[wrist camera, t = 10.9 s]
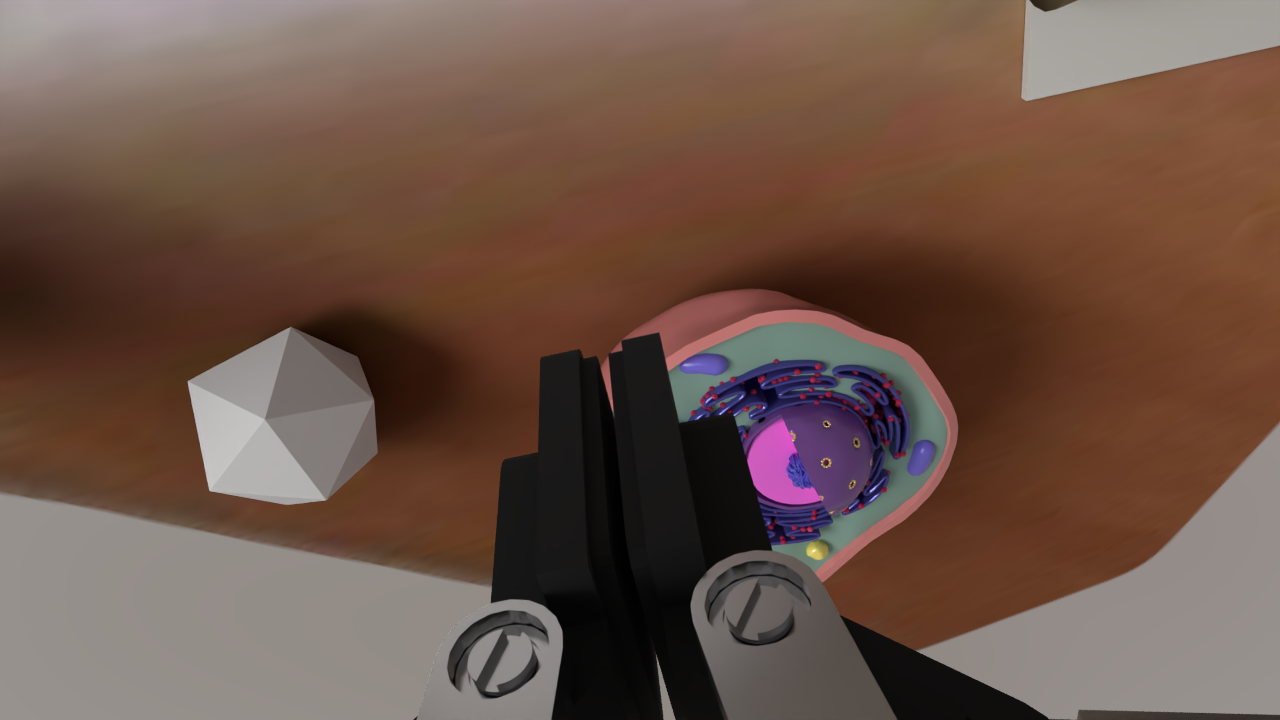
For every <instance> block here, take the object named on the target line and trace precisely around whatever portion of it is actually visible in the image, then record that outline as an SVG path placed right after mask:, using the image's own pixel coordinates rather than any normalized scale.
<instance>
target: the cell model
mask: <svg viewBox="0 0 1280 720" xmlns="http://www.w3.org/2000/svg"><path fill="white" fill-rule="evenodd" d="M658 332H659V333H660V337H661V341H662V346H663V350H664V355H665V360H666V364H667V369H668V373H669V378H670V382H671V387H672V392H673V396H674V401H675V405H676V410H677V414H678V419H679V423H682V422H687V421H692V420H697V419H701V418H706V417H711V416H716V415H721V414H726V413H730V412H733V414H734V417H735V420H736V423H737V427H738V430H739V434H740V437H741V441H742V444H743V448H744V451H745V455H746V458H747V462H748V466H749V469H750V473H751V476H752V480H753V483H754V487H755V490H756V494H757V497H758V501H759V504H760V508H761V511H762V515H763V518H764V522H765V525H766V529H767V532H768V536H769V539H770V543H771V546H772V550H773V551H777V552H780V553H783V554H787V555H790V556H793V557H795V558H797V559H798V560H800V561H801V562H803V563H805V564H806V565H808V566H809V567H810V568H811V569H812V570H813V572H814V573H815V574H816V575H817V577H818V578H819V579H820V580H821V582H824V581H825V580H826V579H828V578H829V577H830V576H831V575H832V574H833V573H834V572H835V571H836V570H838V569H839V568H840V567H841V566H842V565H843V564H845V563H846V562H847V561H848V560H849V559H850V558H852V557H853V556H854V555H855V554H856V553H857V552H859V551H860V550H861V549H862V548H863V547H865V546H866V545H867V544H868V543H870V542H871V541H872V540H874V539H875V538H877V537H879V536H880V535H882V534H883V533H885V532H886V531H888V530H890V529H891V528H893V527H894V526H896V525H898V524H899V523H901V522H902V521H904V520H905V519H906V518H907V517H908V516H910V515H911V514H912V513H913V512H914V511H916V510H917V509H918V508H919V507H920V506H921V504H922V503H923V502H924V501H925V500H926V499H927V498H928V497H929V496H930V495H931V494H932V492H933V491H934V490H935V488H936V487H937V486H938V484H939V483H940V481H941V479H942V478H943V476H944V474H945V472H946V470H947V469H948V467H949V464H950V461H951V458H952V456H953V453H954V450H955V447H956V444H957V435H958V422H957V416H956V413H955V410H954V408H953V405H952V403H951V401H950V400H949V398H948V396H947V395H946V393H945V391H944V389H943V388H942V386H941V384H940V383H939V381H938V380H937V378H936V377H935V375H934V374H933V373H932V371H931V370H930V368H929V367H928V365H927V364H926V363H925V361H924V360H923V358H922V357H921V356H920V355H919V354H918V353H916V352H915V351H914V350H913V349H912V348H911V347H910V346H908V345H906V344H904V343H902V342H900V341H898V340H895V339H893V338H890V337H887V336H885V335H882V334H879V333H877V332H875V331H874V330H872V329H870V328H869V327H867V326H866V325H864V324H862V323H861V322H859V321H856V320H854V319H852V318H850V317H848V316H846V315H844V314H841V313H839V312H836V311H833V310H830V309H827V308H824V307H821V306H818V305H815V304H812V303H809V302H806V301H803V300H801V299H798V298H796V297H793V296H790V295H788V294H785V293H781V292H777V291H773V290H766V289H757V288H749V289H737V290H726V291H720V292H713V293H707V294H704V295H700V296H696V297H694V298H691V299H689V300H687V301H684V302H682V303H680V304H677V305H675V306H674V307H672V308H670V309H668V310H666V311H665V312H663V313H661V314H659V315H658V316H656V317H654V318H652V319H650V320H649V321H647V322H645V323H643V324H642V325H640V326H638V327H637V328H636V329H634V330H633V331H631V332H630V333H629V334H628V335H626V336H625V337H624V338H623V339H622V340H625V339H629V338H634V337H639V336H643V335H648V334H653V333H658ZM622 340H620V341H619V343H618V344H617V345H616V346H615V347H614V348H613V349H612V351H611V352H610V353H613V352H618V351H622V344H621V341H622ZM600 367H601V371H602V375H603V378H604V382H605V386H606V389H607V393H608V397H609V400H610V404H611V408H612V412H613V415H614V410H613V399H612V389H611V378H610V368H609V358H608V356H607V358H606V359H605V360H604V362H603V363H602V365H601V366H600Z"/></svg>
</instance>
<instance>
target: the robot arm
mask: <svg viewBox="0 0 1280 720" xmlns="http://www.w3.org/2000/svg"><path fill="white" fill-rule="evenodd" d="M621 344H622V351H618V352H613V353H609V354H608V358H609V368H610V378H611V389H612V399H613V410H614V415H613V412H612V408H611V404H610V400H609V397H608V393H607V389H606V386H605V382H604V378H603V375H602V371H601V367H600V364H599V361H598V358H597V356H594V357H590V358H585V359H584V358H583V355H582V353H581V351H580V349H577V350H573V351H568V352H563V353H559V354H554V355H549V356H545V357H542V358H541V360H540V397H539V442H538V453H533V454H528V455H523V456H519V457H514V458H509V459H505V460H504V461H503V462H502V467H501V475H500V488H499V501H498V515H497V528H496V541H495V554H494V567H493V581H492V594H491V604H489V605H487V606H484V607H483V608H480V609H478V610H476V611H474V612H472V613H471V614H469V615H468V616H467V617H465V618H464V619H463V620H461V621H460V622H459V623H458V624H456V625H455V627H454V628H453V629H452V630H451V632H450V633H449V634H448V635H447V636H446V637H445V639H444V640H443V642H442V644H441V646H440V648H439V650H438V653H437V655H436V657H435V660H434V664H433V667H432V670H431V673H430V677H429V680H428V684H427V687H426V691H425V694H424V697H423V700H422V704H421V707H420V710H419V714H418V716H417V717H416V718H415V719H414V720H663V710H662V703H661V693H660V685H659V676H658V668H657V659H656V655H657V658H658V661H659V665H660V668H661V672H662V675H663V678H664V682H665V685H666V688H667V692H668V695H669V699H670V702H671V706H672V709H673V712H674V716H675V719H676V720H1068V719H1048V718H1047V717H1046V716H1044V715H1043V714H1041V713H1040V712H1038V711H1037V710H1035V709H1034V708H1032V707H1030V706H1029V705H1027V704H1026V703H1024V702H1021V701H1020V700H1018V699H1015V698H1013V697H1011V696H1009V695H1007V694H1005V693H1003V692H1001V691H999V690H996V689H994V688H992V687H990V686H988V685H986V684H984V683H982V682H980V681H978V680H975V679H973V678H971V677H969V676H967V675H965V674H963V673H961V672H959V671H956V670H954V669H952V668H950V667H948V666H946V665H944V664H942V663H939V662H938V661H935V660H933V659H931V658H929V657H927V656H925V655H923V654H920V653H919V652H917V651H914V650H912V649H910V648H908V647H906V646H904V645H902V644H900V643H898V642H895V641H893V640H891V639H889V638H887V637H885V636H883V635H881V634H879V633H876V632H874V631H872V630H870V629H868V628H866V627H864V626H862V625H860V624H858V623H855V622H853V621H851V620H849V619H847V618H845V617H843V616H841V615H839V613H838V611H837V609H836V607H835V606H834V604H833V602H832V600H831V598H830V596H829V595H828V593H827V591H826V589H825V587H824V586H823V584H822V582H821V580H820V579H819V578H818V577H817V575H816V574H815V573H814V572H813V570H812V569H811V568H810V567H809V566H808V565H806V564H805V563H803V562H801V561H800V560H798V559H797V558H795V557H793V556H790V555H787V554H783V553H780V552H777V551H773V550H772V546H771V543H770V539H769V536H768V532H767V529H766V525H765V522H764V518H763V515H762V511H761V508H760V504H759V501H758V497H757V494H756V490H755V487H754V483H753V480H752V476H751V473H750V469H749V466H748V462H747V458H746V455H745V451H744V448H743V444H742V441H741V437H740V434H739V430H738V427H737V423H736V420H735V417H734V414H733V412H730V413H726V414H721V415H716V416H711V417H706V418H701V419H697V420H692V421H687V422H682V423H679V419H678V414H677V410H676V405H675V401H674V396H673V392H672V387H671V382H670V378H669V373H668V369H667V364H666V360H665V355H664V350H663V346H662V341H661V337H660V333H659V332H658V333H653V334H648V335H643V336H639V337H634V338H629V339H625V340H622V341H621ZM1077 720H1280V715H1262V714H1261V715H1260V714H1221V713H1183V712H1144V711H1142V712H1141V711H1105V710H1079V711H1078V717H1077Z"/></svg>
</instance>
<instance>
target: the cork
mask: <svg viewBox="0 0 1280 720" xmlns="http://www.w3.org/2000/svg"><path fill="white" fill-rule="evenodd" d="M1075 1H1077V0H1030V2H1031V3H1032V4H1033V5H1034V7H1036V8H1038V9H1040V10H1042V11H1044V12H1047V11H1052V10H1056V9H1058V8H1061V7H1063V6H1066V5H1068V4H1070V3H1073V2H1075Z"/></svg>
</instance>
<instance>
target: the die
mask: <svg viewBox="0 0 1280 720" xmlns="http://www.w3.org/2000/svg"><path fill="white" fill-rule="evenodd" d="M188 386H189V391H190V396H191V401H192V406H193V411H194V416H195V421H196V426H197V431H198V436H199V441H200V446H201V451H202V456H203V461H204V466H205V471H206V476H207V481H208V486H209V491H213V492H218V493H224V494H229V495H235V496H241V497H246V498H252V499H257V500H263V501H269V502H274V503H280V504H285V505H288V504H297V503H306V502H315V501H324V500H327V499H328V498H329V497H330V496H331V495H333V494H334V493H335V492H336V491H337V490H338V489H339V488H340V487H341V486H342V485H343V484H345V483H346V482H347V481H348V480H349V479H350V478H351V477H352V476H353V475H354V474H355V473H356V472H358V471H359V470H360V469H361V468H362V467H363V466H364V465H365V464H366V463H367V462H368V461H370V460H371V459H372V458H373V457H374V456H375V455H376V454H377V453H378V452H377V436H376V421H375V406H374V398H373V396H372V393H371V390H370V388H369V385H368V382H367V380H366V377H365V375H364V372H363V369H362V367H361V364H360V361H359V359H358V357H357V356H355V355H352V354H350V353H348V352H346V351H344V350H341V349H339V348H337V347H335V346H332V345H330V344H328V343H326V342H324V341H321V340H319V339H317V338H315V337H312V336H310V335H308V334H306V333H303V332H301V331H299V330H297V329H295V328H292V327H290V328H288V329H286V330H284V331H282V332H280V333H278V334H276V335H274V336H272V337H270V338H268V339H266V340H264V341H263V342H261V343H259V344H257V345H255V346H253V347H251V348H249V349H247V350H245V351H244V352H242V353H240V354H238V355H236V356H234V357H232V358H230V359H228V360H227V361H225V362H223V363H221V364H219V365H217V366H215V367H213V368H212V369H210V370H208V371H206V372H204V373H202V374H200V375H198V376H196V377H195V378H193V379H191V380H189V381H188Z"/></svg>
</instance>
